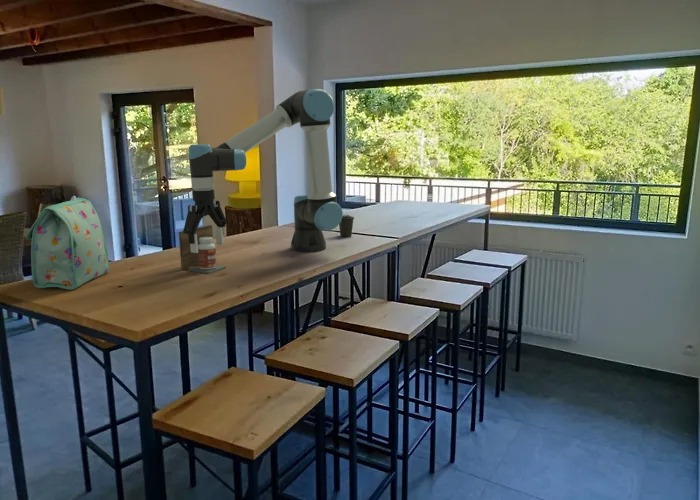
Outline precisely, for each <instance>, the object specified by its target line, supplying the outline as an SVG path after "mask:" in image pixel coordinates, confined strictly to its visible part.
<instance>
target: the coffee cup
mask: <svg viewBox="0 0 700 500" xmlns="http://www.w3.org/2000/svg"><path fill="white" fill-rule="evenodd" d="M354 220H355V217H354V216H353V215H352V216H351V215H348V214H347V215H343V216H342V220H341V222H340V223H339V225H338V226H339V236H340V237H341V238H351V237H352V236H353V235H352V234H353V228H354V227H353V225H354Z"/></svg>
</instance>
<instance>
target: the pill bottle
mask: <svg viewBox="0 0 700 500" xmlns="http://www.w3.org/2000/svg"><path fill="white" fill-rule="evenodd" d="M199 242H200V244H199V245H198V262H199V268H200V269H203V270H209V269H214V268H216V265H217V252H216V245H215V243H214V237H213V238H212V237H201V238H199ZM212 242H213V243H212Z"/></svg>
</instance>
